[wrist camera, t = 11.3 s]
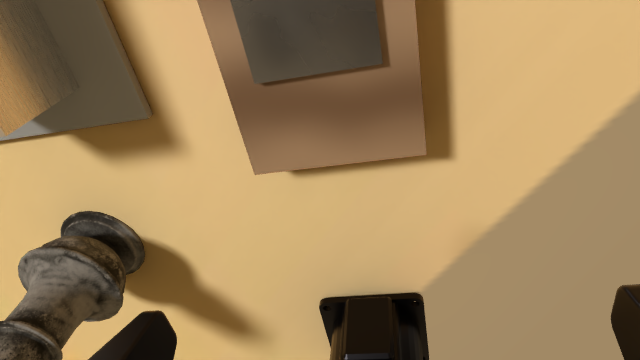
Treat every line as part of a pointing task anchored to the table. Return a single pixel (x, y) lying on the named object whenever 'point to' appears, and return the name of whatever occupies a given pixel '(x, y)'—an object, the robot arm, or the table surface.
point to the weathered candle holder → (70, 285)
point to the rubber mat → (88, 71)
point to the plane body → (320, 79)
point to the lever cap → (29, 65)
